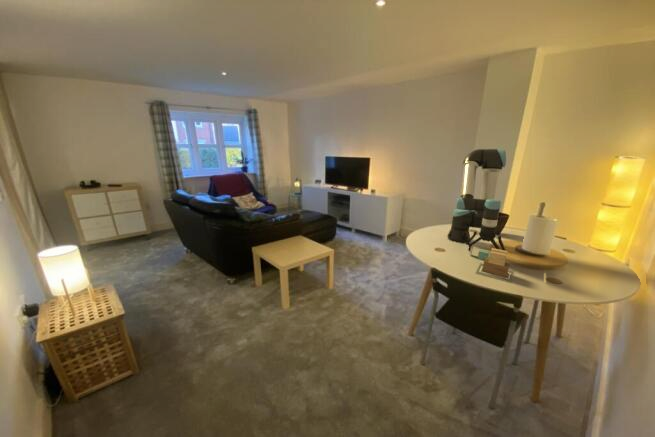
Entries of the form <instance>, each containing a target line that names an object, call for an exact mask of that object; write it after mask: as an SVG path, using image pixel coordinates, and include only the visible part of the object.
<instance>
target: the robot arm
mask: <svg viewBox="0 0 655 437" xmlns="http://www.w3.org/2000/svg"><path fill="white" fill-rule="evenodd" d="M506 163H507V153H506V150H504V149H502V148H488V149H487V148H484V149H483V148H478V149H475V150H472V151H471V152H470V153H468V154H467V155H466V156H465V158H464V160H463V161H462V169H463V173H462V180H461V181H462V182H461V190H460V197H457V198H456V203H455V204H456V205H455V209H454V210H453V213H452V219H451V225H450V226H451V227H450V230H449V231H448V234H447V236H446V238H447V237H448V238H449V239H450V240H449V239H448V238H447V239H448V240H449V241H451V240H452V241H451V242H454V241H455V243H459V242H460V243H461V244H463V243H464V244H465V245H466V246H468V252H469V254H468V255H469V256H470V257H472V254H473V247H474V245H476V244H477V243H478V242H479V241H483V242H484V241H485V242H491V244H493V246H494V249H499V250H504V251H507V250H506V248H505V246H504V242H503V240H502V235H501V234H499V235H495V232H496V227H495V226H497V222H498V215H499V212H500V209H501V204H502V202H501V200H500V199H497V198H496V191H497V184H498V177H499V173H500V172H501V171H502V169H503V168H505V167H506ZM478 168H481V170H482V172H483V174H482V182H481V189H480V195H479V198H475V191H476V190H475V188H476V179H477V178H476V177H477V169H478ZM470 228H474V229H477V228H478V229H480V231H477V230H474V231H473V235H471V234H470ZM478 235H479V237H478V238H476V239H475V240H474V241H473V239H474V238H475V237H476V236H478ZM496 240H498V243H499V244H498V243H497V242H496Z"/></svg>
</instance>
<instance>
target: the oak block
mask: <svg viewBox="0 0 655 437" xmlns="http://www.w3.org/2000/svg"><path fill="white" fill-rule="evenodd" d="M507 255H508V251H507V250H506V251H504V250H502V249H501V250H499V249H496V248H495V247H494V248H493V247H492V248H491V249H490V251H489V257H488V258H489V261H488V263H492V264H496V265H500V266H504V265H505V262H506V261H507Z"/></svg>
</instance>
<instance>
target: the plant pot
mask: <svg viewBox="0 0 655 437" xmlns="http://www.w3.org/2000/svg"><path fill="white" fill-rule="evenodd" d="M509 218H510V214H508V213H505V212H500V211H499V215H498V222H497V226H495V227H496V232H495V235H498V236H499V235H501V233H502V231H503V230H504V228H505V227H506V225H507V224H508V221H509Z"/></svg>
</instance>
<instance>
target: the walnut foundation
mask: <svg viewBox="0 0 655 437" xmlns="http://www.w3.org/2000/svg"><path fill="white" fill-rule="evenodd" d="M488 261H489V257H488V258H485V260H484V261H483V263H482V264H483V270H482V271H483V272H487V273H491V274H495V275H498V276H502V277H506V278H507V274H508V270H510V269H509V268H510V262H506V261H505V265H504V266H500V265H496V264H492V263H488Z"/></svg>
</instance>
